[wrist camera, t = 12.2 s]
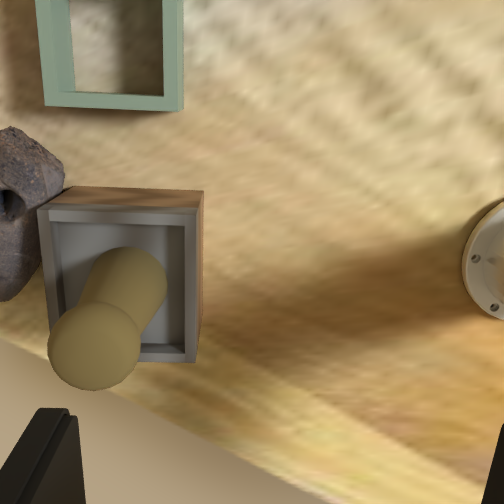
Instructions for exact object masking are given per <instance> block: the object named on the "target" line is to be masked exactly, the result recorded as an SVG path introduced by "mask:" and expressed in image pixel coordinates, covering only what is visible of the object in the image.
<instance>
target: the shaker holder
mask: <svg viewBox="0 0 504 504" xmlns="http://www.w3.org/2000/svg"><path fill="white" fill-rule="evenodd" d="M35 7H36V17H37V27H38V38H39V48H40V59H41V69H42V80H43V90H44V100H45V106H60V107H83V108H105V109H128V110H150V111H173V112H178V111H180V110H183V109H184V90H183V0H162V9H163V71H164V95H147V94H125V93H104V92H82V91H75V78H74V64H73V51H72V38H71V24H70V11H69V0H35Z"/></svg>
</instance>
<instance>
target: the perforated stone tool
mask: <svg viewBox="0 0 504 504" xmlns="http://www.w3.org/2000/svg"><path fill="white" fill-rule="evenodd" d="M64 178H65V173H64V171H63V164H62V163H61V161H59V160H58V159H56V157H55V156H54V155H53V154H51V153H50V152H49V151H48V150H46V149H45V148H44V147H42V146H41V145H40V144H39V143H38V142H37V141H35V140H34V139H32V138H29V137H28V136H27V135H26V134H25V133H24V132H23V131H22V130H20V129H17V128H15V127H11V126H9V127H8V128H6V129H4V130H0V302H5V301H9V300H11V299H12V298H13V297H14V296H16V295H17V294H18V293H19V292H20V291H21V290H22V288H23V287H24V286H25V285H26V284H27V282H28V281H29V280H30V278H31V277H32V275H33V274H34V272H35V271H36V269H37V267H38V265H39V263H40V261H41V259H42V255H41V246H40V236H39V227H38V218H37V209H38V208H40V207H42V206H43V205H45V204H46V203H48V202H50V201H51V200H53V199H54V198H56V197H58V196H59V195H60V194H61V192H62V188H63V183H64Z"/></svg>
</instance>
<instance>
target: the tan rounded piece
mask: <svg viewBox="0 0 504 504" xmlns="http://www.w3.org/2000/svg"><path fill="white" fill-rule="evenodd" d="M167 292H168V279H167V275H166V272H165V270H164V268H163V267H162V265H161V264H160V262H159V261H158V260H157V259H156V258H155V257H153V256H152V255H151V254H150V253H148V252H146V251H144V250H141V249H139V248H135V247H126V246H124V247H118V248H113V249H111V250H109V251H107V252H105V253H103V254H101V256H100V257H99V258H98V259H97V260H96V261H95V262H94V264H93V266H92V269H91V271H90V274H89V276H88V279H87V281H86V284H85V286H84V289H83V292H82V294H81V297H80V299H79V302H78V304H77V306H76V307H74V308H72V309H70V310H69V311H67V312H65V313H64V314H63V315H62V316H61V318H60V319H59V320H58V321H57V322H56V323H55V325H54V326H53V328H52V330H51V333H50V336H49V339H48V343H47V346H48V357H49V360H50V363H51V365H52V368H53V370H54V371H55V372H56V374H57V375H58V376H59V377H60V378H61V379H62V380H63V381H65V382H66V383H68V384H69V385H71V386H73V387H76V388H79V389H82V390H90V391H96V390H102V389H107V388H110V387H112V386H114V385H116V384H118V383H120V382H122V381H123V380H124V379H125V378H126V377H127V376H128V375H129V374H130V373H131V372H132V370H133V369H134V367H135V365H136V363H137V360H138V358H139V355H140V347H141V339H140V335H141V334H142V333H143V331H144V330H145V328H146V327H147V325H148V324H149V322H150V321H151V320H152V318H153V317H154V315H155V314H156V312H157V311H158V309H159V308H160V307H161V305H162V304H163V302H164V300H165V297H166V295H167Z"/></svg>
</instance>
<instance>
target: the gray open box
mask: <svg viewBox="0 0 504 504" xmlns="http://www.w3.org/2000/svg"><path fill="white" fill-rule="evenodd" d="M203 201H204V191H195V190H168V189H141V188H114V187H87V186H74V187H72V188H70V189H69V190H67V191H66V192H64V193H62V194H61V195H59V196H58V197H56V198H54V199H53V200H51V201H50V202H48V203H46V204H45V205H43V206H42V207H40V208H38V209H37V218H38V227H39V236H40V246H41V255H42V264H43V273H44V282H45V291H46V301H47V310H48V319H49V328H50V333H51V330H52V328H53V326H54V325H55V323H56V322H57V321H58V320H59V319H60V318H61V316H62V315H63V314H64V313H65V312H67V311H69V310H70V309H72V308H74V307H76V306H77V304H78V302H79V299H80V297H81V294H82V292H83V289H84V286H85V284H86V281H87V279H88V276H89V274H90V271H91V269H92V266H93V264H94V262H95V261H96V260H97V259H98V258H99V257H100V256H101V254H103V253H105V252H107V251H109V250H111V249H113V248H118V247H124V246H126V247H135V248H139V249H141V250H144V251H146V252H148V253H150V254H151V255H152V256H153V257H155V258H156V259H157V260H158V261H159V262H160V264H161V265H162V267H163V268H164V270H165V272H166V275H167V279H168V292H167V295H166V297H165V300H164V302H163V304H162V305H161V307H160V308H159V309H158V311H157V312H156V314H155V315H154V317H153V318H152V320H151V321H150V322H149V324H148V325H147V327H146V328H145V330H144V331H143V333H142V334H141V335H140V339H141V347H140V355H139V358H138V360H137V362H173V363H195V361H196V354H197V348H198V341H199V334H200V327H201V321H202V293H203Z"/></svg>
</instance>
